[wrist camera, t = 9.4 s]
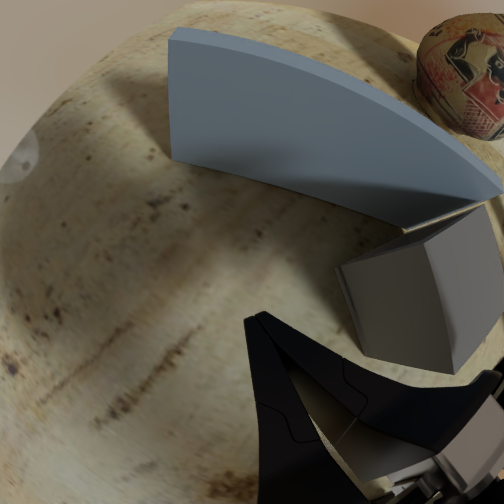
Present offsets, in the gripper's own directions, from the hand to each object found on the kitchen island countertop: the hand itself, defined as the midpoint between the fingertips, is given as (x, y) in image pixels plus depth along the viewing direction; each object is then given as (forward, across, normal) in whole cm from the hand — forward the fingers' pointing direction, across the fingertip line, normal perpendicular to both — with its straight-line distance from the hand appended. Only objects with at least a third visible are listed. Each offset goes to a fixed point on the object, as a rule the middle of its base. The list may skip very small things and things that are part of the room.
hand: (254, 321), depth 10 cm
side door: (+9, -8, +1) cm, 12 cm away
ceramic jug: (+14, -34, -3) cm, 37 cm away
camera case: (+3, -12, +7) cm, 14 cm away
